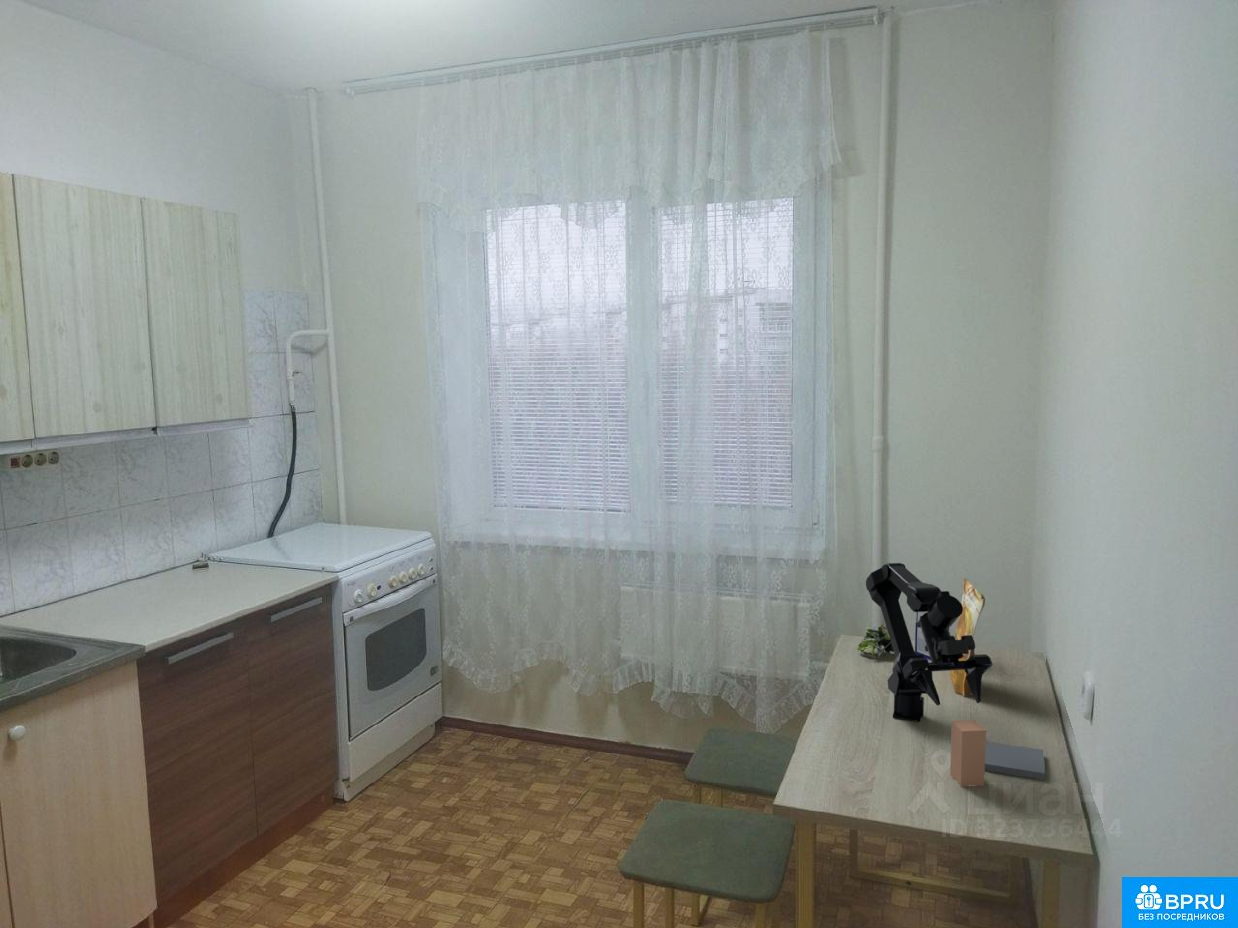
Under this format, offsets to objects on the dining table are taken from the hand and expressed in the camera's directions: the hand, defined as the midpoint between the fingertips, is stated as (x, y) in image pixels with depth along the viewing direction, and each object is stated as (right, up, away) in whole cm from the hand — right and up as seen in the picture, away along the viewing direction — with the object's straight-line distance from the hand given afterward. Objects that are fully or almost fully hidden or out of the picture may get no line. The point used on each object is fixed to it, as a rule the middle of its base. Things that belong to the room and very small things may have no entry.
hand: (958, 703), depth 189 cm
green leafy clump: (+4, -5, +70) cm, 70 cm away
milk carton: (+19, -5, +69) cm, 72 cm away
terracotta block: (-1, -14, -7) cm, 16 cm away
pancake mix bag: (+19, -8, +45) cm, 50 cm away
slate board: (+12, -13, +1) cm, 18 cm away
